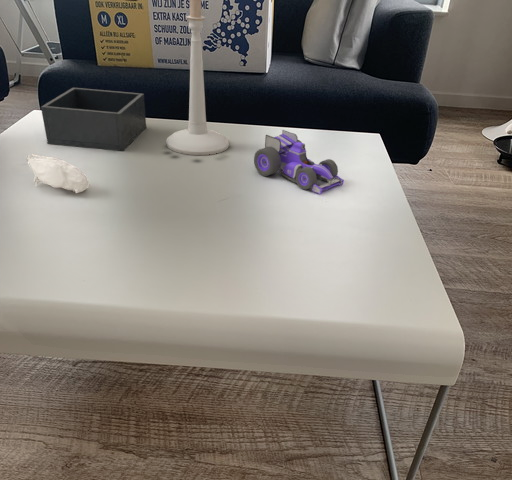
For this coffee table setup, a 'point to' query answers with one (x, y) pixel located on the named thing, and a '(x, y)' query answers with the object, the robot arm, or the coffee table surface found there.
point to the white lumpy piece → (57, 173)
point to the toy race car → (295, 163)
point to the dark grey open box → (94, 118)
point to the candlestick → (197, 100)
